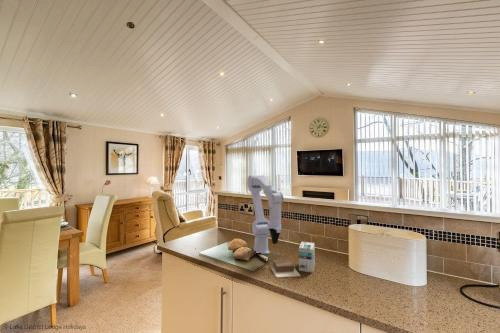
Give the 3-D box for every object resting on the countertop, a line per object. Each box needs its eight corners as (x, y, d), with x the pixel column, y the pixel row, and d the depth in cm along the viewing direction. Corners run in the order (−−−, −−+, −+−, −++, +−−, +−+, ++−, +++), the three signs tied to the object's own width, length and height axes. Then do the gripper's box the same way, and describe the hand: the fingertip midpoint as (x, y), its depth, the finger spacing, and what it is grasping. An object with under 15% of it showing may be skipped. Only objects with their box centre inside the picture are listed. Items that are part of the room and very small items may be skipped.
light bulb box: (313, 273, 109) (313, 249, 109) (298, 270, 111) (298, 247, 111) (314, 264, 119) (315, 242, 119) (301, 262, 121) (301, 241, 121)
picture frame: (273, 260, 115) (277, 266, 108) (289, 259, 117) (294, 265, 110) (273, 266, 115) (277, 272, 108) (288, 265, 117) (293, 271, 110)
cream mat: (270, 268, 114) (270, 267, 114) (292, 266, 116) (292, 266, 116) (276, 277, 104) (276, 276, 104) (300, 276, 106) (300, 275, 106)
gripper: (264, 213, 128) (263, 239, 128) (271, 219, 114) (270, 248, 114) (277, 213, 129) (276, 238, 129) (285, 219, 115) (285, 247, 115)
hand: (274, 243), depth 122 cm, fingers closed
